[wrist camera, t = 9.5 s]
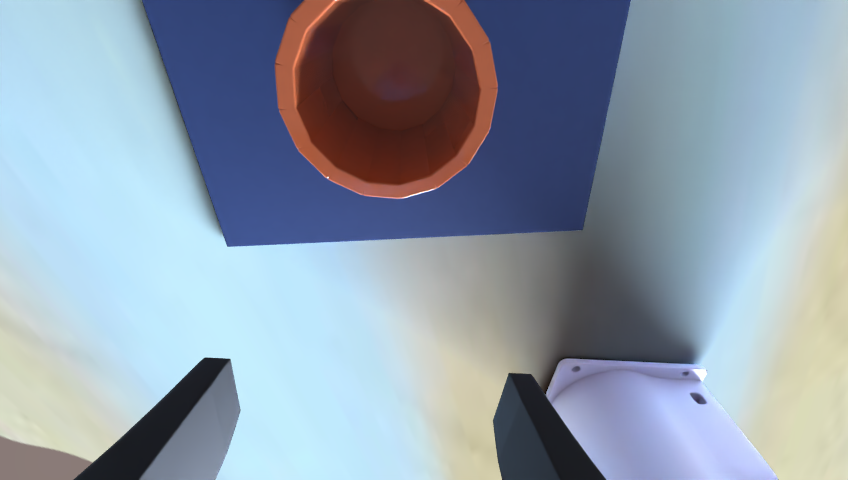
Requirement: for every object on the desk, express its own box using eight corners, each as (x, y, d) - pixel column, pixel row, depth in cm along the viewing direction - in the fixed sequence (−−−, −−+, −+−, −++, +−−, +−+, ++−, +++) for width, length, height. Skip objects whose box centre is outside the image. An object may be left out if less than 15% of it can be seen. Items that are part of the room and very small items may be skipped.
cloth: (674, -230, 11) (680, -235, 11) (580, 227, 19) (582, 230, 18) (73, -214, 11) (65, -220, 10) (229, 243, 18) (227, 246, 18)
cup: (475, -7, 13) (519, -18, 8) (453, 143, 16) (475, 205, 11) (320, -27, 13) (264, -53, 8) (324, 130, 16) (284, 189, 10)
